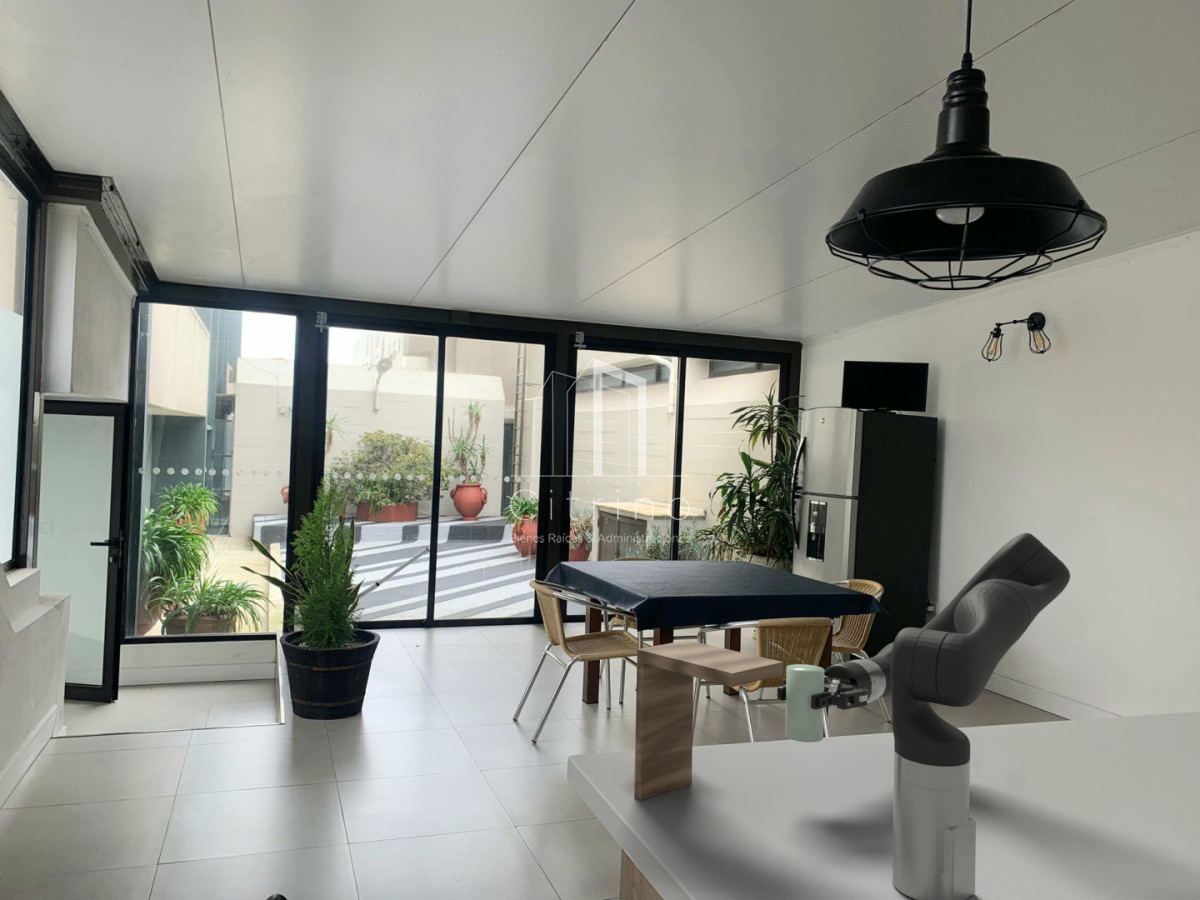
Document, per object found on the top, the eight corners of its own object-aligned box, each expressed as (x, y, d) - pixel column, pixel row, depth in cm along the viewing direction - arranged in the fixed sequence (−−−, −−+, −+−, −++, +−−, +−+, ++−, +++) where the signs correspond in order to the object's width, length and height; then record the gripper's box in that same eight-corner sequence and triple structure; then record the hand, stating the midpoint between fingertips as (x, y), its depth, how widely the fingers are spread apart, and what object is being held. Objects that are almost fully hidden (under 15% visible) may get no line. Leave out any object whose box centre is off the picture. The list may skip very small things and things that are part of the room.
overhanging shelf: (780, 818, 135) (783, 661, 135) (729, 839, 127) (732, 673, 127) (685, 780, 150) (687, 640, 150) (634, 797, 142) (637, 649, 142)
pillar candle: (830, 737, 142) (831, 669, 142) (808, 744, 138) (810, 674, 138) (799, 728, 147) (801, 662, 147) (777, 735, 143) (779, 667, 143)
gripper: (819, 654, 157) (760, 666, 146) (892, 669, 147) (834, 683, 136) (818, 696, 157) (759, 711, 146) (891, 714, 147) (833, 732, 135)
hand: (796, 698), depth 141 cm, fingers closed on pillar candle, 6 cm apart
